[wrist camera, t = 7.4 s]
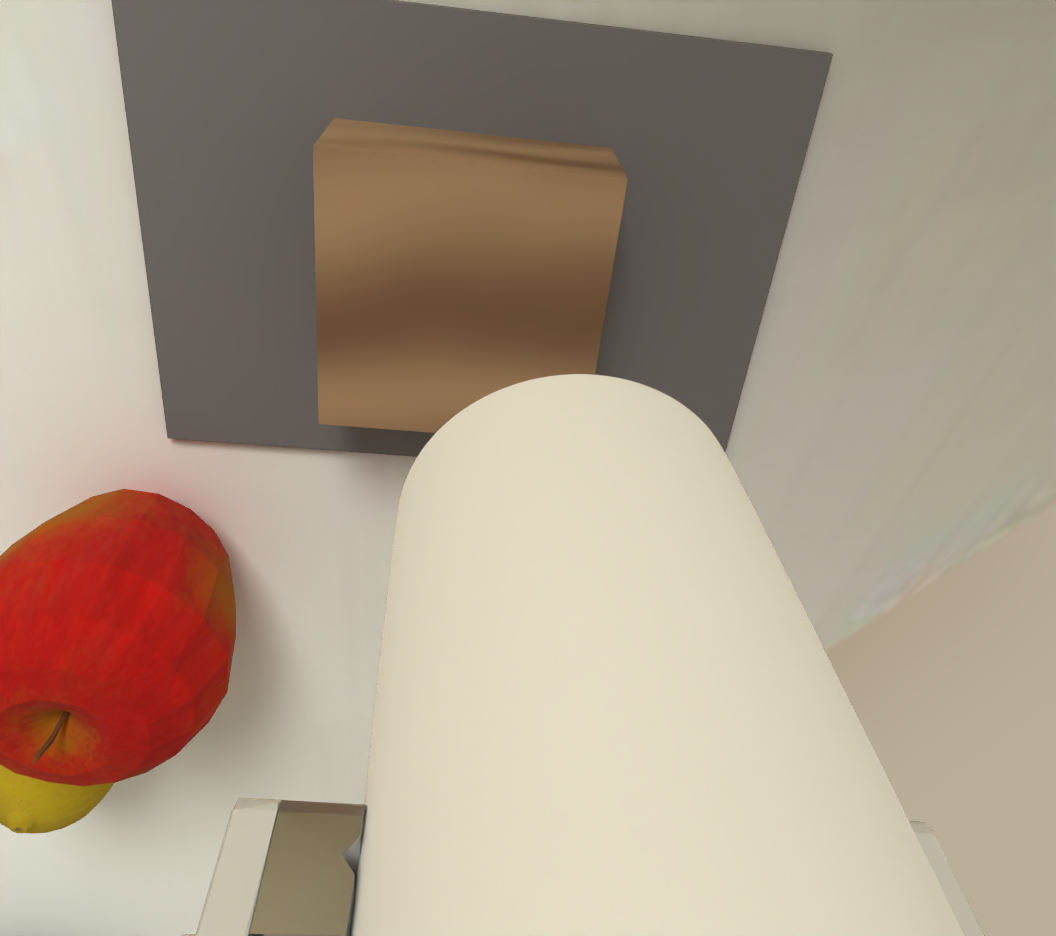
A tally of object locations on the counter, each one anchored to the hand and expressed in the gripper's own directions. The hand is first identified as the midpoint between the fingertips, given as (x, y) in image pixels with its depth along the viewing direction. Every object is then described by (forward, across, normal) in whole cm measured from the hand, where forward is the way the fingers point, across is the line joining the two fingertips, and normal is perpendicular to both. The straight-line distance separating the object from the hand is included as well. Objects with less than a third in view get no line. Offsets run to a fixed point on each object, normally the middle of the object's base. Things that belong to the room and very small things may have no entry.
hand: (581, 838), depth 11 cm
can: (+7, 0, 0) cm, 7 cm away
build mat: (+24, +2, +1) cm, 24 cm away
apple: (+24, +14, +14) cm, 31 cm away
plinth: (+23, +2, +1) cm, 23 cm away
